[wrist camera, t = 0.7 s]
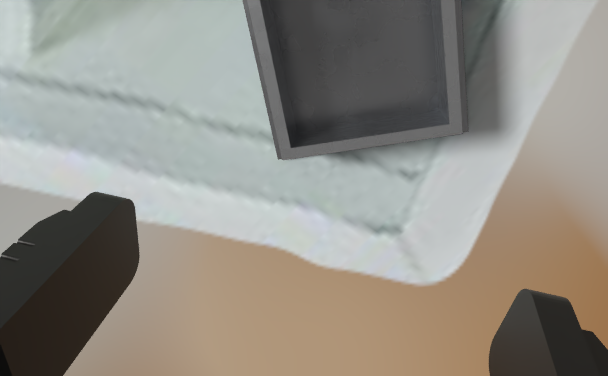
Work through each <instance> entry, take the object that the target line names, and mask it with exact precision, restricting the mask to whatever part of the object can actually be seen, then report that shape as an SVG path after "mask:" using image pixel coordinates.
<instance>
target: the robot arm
mask: <svg viewBox="0 0 608 376" xmlns="http://www.w3.org/2000/svg"><path fill="white" fill-rule="evenodd" d="M138 263H139V244H138V235H137V225H136V214H135V206H134V203H133V202H132V201H131V200H130V199H126V198H122V197H118V196H113V195H109V194H104V193H100V192H93V193H91V194H89V195H88V196H87V197H86V198H85V199H84V200H83V201H81V202H80V203H79V204H78V205H77V206H76V207H75V208H74V209H73V210H72V211H67V210H62V211H60V212H58V213H56V214H54V215H52V216H50V217H48V218H46V219H44V220H42V221H40V222H38V223H37V224H35V225H34V226H33V227H32V228H31V229H30V230H28V231H27V232H26V233H25V234H24V235H23V236H22V237H20V238H19V239H18V242H17V243H13V244H12V245H11V246H10V247H9V248H8V249H7V250H5V251H4V252H3V253H2V256H1V257H0V376H63V375H64V374H65V372H66V370H67V369H68V368H69V367H70V365H71V364H72V363H73V361H74V360H75V358H76V357H77V356H78V354H79V353H80V352H81V350H82V349H83V347H84V346H85V345H86V343H87V342H88V341H89V339H90V338H91V336H92V335H93V334H94V332H95V331H96V330H97V328H98V327H99V325H100V324H101V323H102V321H103V320H104V318H105V317H106V316H107V314H108V313H109V311H110V310H111V309H112V308H113V306H114V305H115V303H116V302H117V301H118V299H119V298H120V297H121V295H122V294H123V292H124V291H125V290H126V288H127V287H128V286H129V284H130V283H131V281H132V279H133V277H134V276H135V273H136V271H137V267H138ZM489 371H490V376H608V350H607V349H606V347H605V346H604V345H603V344H602V343H601V341H600V340H599V339H598V338H597V337H596V336H595V334H594V333H593V332H591V331H586V330H582V329H581V327H580V325H579V322H578V320H577V317H576V315H575V312H574V310H573V307H572V305H571V303H570V302H569V300H568V299H566V298H564V297H560V296H556V295H551V294H546V293H542V292H538V291H533V290H528V289H523V290H521V291H520V292H519V293H518V294H517V296H516V298H515V300H514V302H513V303H512V305H511V307H510V309H509V311H508V312H507V314H506V316H505V318H504V320H503V322H502V323H501V325H500V327H499V329H498V331H497V333H496V334H495V336H494V339H493V341H492V344H491V347H490V354H489Z"/></svg>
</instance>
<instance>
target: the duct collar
mask: <svg viewBox="0 0 608 376" xmlns="http://www.w3.org/2000/svg"><path fill="white" fill-rule="evenodd" d="M243 4H244V9H245V13H246V18H247V22H248V27H249V31H250V36H251V40H252V45H253V49H254V54H255V58H256V63H257V67H258V72H259V76H260V81H261V85H262V90H263V94H264V98H265V103H266V107H267V112H268V116H269V121H270V125H271V130H272V134H273V139H274V143H275V148H276V152H277V157H278V159H282V160H288V159H294V158H301V157H308V156H315V155H321V154H328V153H335V152H342V151H349V150H355V149H362V148H369V147H376V146H383V145H389V144H396V143H403V142H410V141H416V140H423V139H430V138H437V137H444V136H450V135H457V134H463V133H462V132H467V131H468V116H467V98H466V79H465V61H464V43H463V24H462V6H461V0H243Z"/></svg>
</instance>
